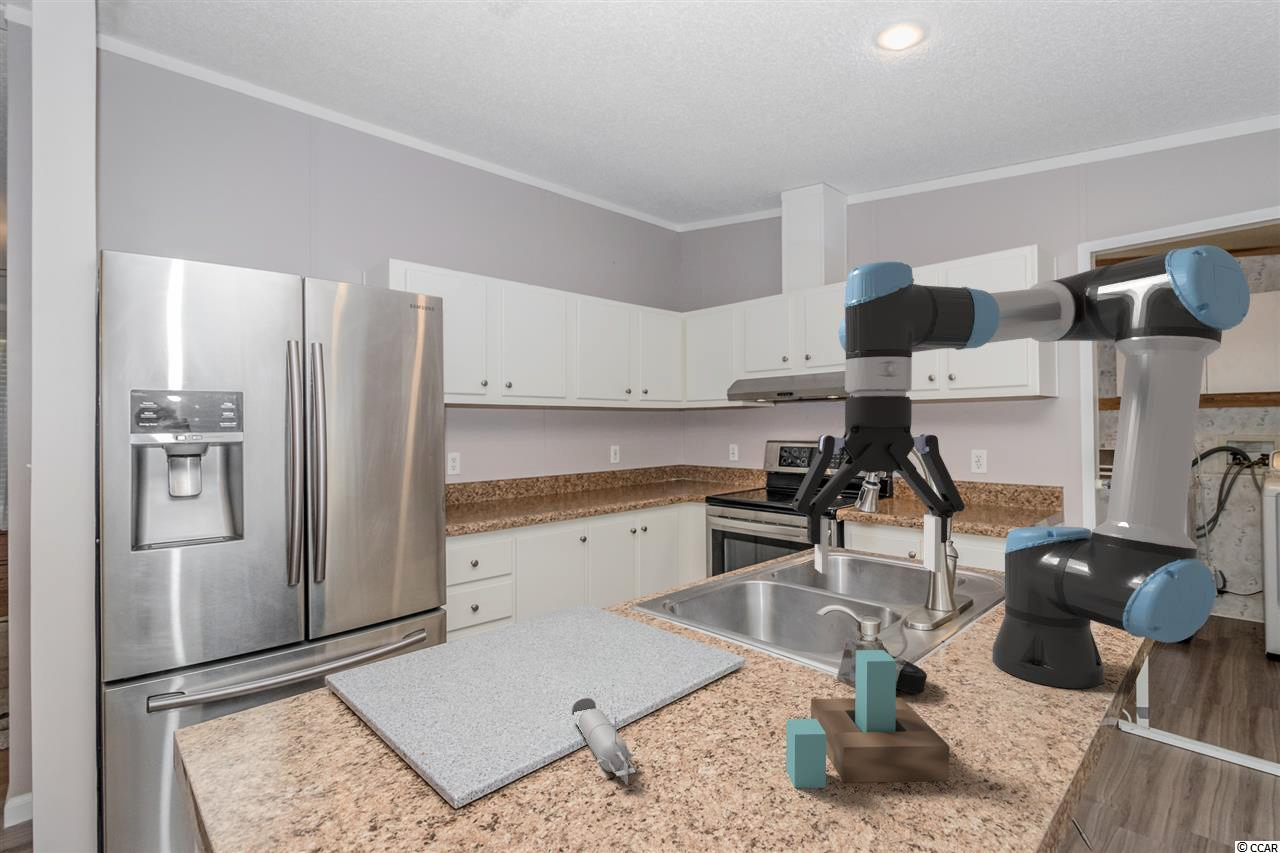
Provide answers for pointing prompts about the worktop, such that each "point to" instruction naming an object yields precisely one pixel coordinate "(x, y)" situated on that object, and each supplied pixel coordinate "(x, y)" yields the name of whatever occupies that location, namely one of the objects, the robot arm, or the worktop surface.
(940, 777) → the hole block
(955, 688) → the worktop surface
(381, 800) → the worktop surface
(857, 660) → the long pin
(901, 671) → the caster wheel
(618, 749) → the torpedo
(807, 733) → the short pin
